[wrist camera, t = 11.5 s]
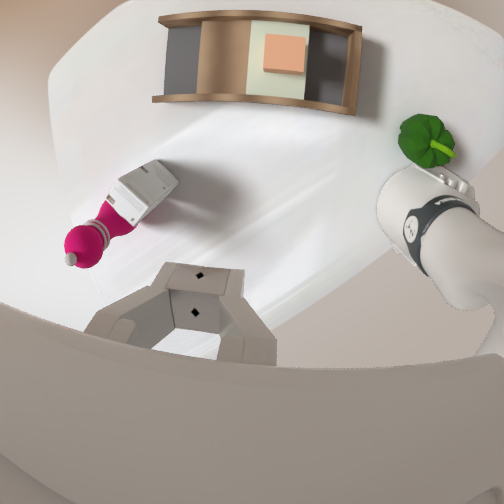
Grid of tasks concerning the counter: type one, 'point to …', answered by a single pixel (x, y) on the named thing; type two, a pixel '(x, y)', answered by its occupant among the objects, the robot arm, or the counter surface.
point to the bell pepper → (426, 141)
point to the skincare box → (141, 191)
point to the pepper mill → (94, 237)
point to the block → (284, 54)
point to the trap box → (260, 60)
